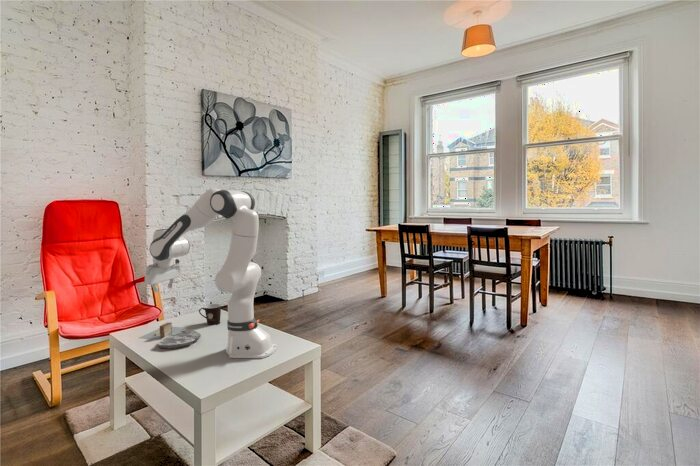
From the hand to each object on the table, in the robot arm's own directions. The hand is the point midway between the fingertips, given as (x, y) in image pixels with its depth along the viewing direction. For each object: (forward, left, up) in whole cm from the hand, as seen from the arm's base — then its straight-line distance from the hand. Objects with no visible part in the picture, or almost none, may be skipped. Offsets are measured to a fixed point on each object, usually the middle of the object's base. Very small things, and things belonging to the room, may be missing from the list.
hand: (163, 289), depth 180 cm
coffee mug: (-9, -24, -24) cm, 35 cm away
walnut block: (+1, -1, -24) cm, 24 cm away
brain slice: (-12, +4, -25) cm, 28 cm away
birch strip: (+7, -5, -24) cm, 25 cm away
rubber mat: (+6, -5, -24) cm, 25 cm away
